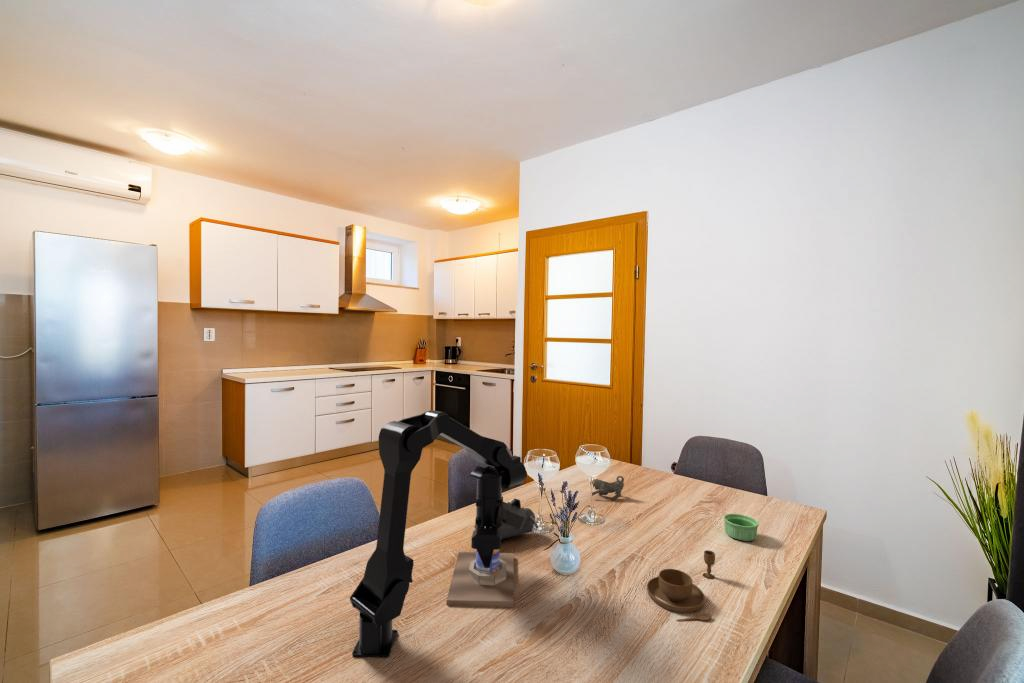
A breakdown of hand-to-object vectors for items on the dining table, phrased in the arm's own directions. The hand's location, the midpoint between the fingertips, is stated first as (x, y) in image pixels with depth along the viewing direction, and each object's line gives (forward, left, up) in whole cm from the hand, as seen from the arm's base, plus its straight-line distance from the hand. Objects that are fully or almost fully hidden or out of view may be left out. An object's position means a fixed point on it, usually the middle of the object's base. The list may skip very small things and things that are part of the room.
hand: (487, 560), depth 101 cm
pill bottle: (0, 0, -3) cm, 3 cm away
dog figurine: (+54, -39, -5) cm, 66 cm away
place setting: (-4, -46, -5) cm, 46 cm away
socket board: (0, +1, -4) cm, 4 cm away
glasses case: (+20, -4, -5) cm, 21 cm away
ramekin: (+26, -72, -5) cm, 76 cm away
